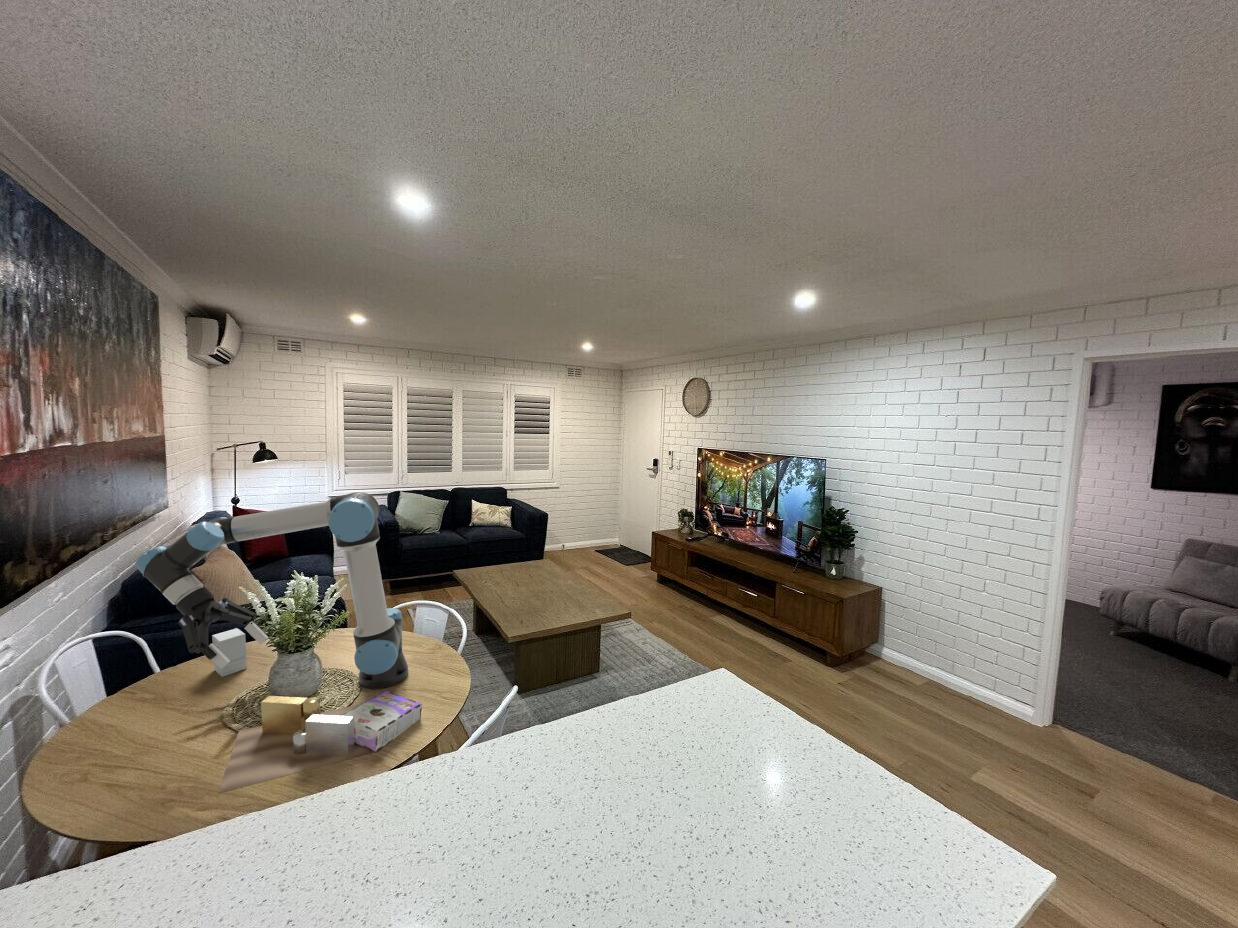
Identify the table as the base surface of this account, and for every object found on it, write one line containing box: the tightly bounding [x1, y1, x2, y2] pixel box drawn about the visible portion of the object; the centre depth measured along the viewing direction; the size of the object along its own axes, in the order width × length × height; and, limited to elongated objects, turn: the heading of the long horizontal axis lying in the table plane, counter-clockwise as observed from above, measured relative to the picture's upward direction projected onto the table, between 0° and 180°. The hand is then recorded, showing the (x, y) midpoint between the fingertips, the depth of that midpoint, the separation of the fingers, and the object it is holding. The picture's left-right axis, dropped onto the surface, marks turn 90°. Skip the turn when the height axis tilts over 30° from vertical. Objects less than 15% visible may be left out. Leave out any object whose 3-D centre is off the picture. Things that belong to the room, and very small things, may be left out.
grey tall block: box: [211, 627, 248, 678], centre depth 170 cm, size 7×7×13 cm
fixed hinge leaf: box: [293, 714, 355, 756], centre depth 131 cm, size 4×15×9 cm, turn 88°
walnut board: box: [217, 703, 373, 794], centre depth 134 cm, size 25×32×1 cm
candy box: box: [342, 690, 423, 752], centre depth 141 cm, size 14×6×16 cm
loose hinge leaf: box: [260, 695, 321, 735], centre depth 138 cm, size 4×15×9 cm, turn 88°
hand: (246, 652), depth 136 cm, fingers open, 13 cm apart
